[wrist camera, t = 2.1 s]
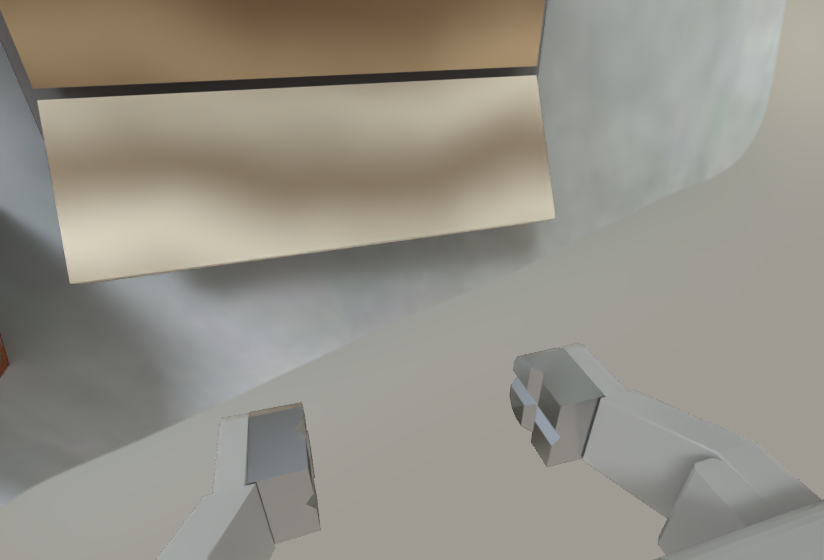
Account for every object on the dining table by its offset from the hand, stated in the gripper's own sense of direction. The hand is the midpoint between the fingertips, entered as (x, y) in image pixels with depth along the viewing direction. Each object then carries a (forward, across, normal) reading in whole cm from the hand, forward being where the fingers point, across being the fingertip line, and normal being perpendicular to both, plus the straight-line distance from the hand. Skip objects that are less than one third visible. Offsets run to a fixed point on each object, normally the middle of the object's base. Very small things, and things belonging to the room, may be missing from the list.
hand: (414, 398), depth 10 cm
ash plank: (+14, 0, 0) cm, 14 cm away
